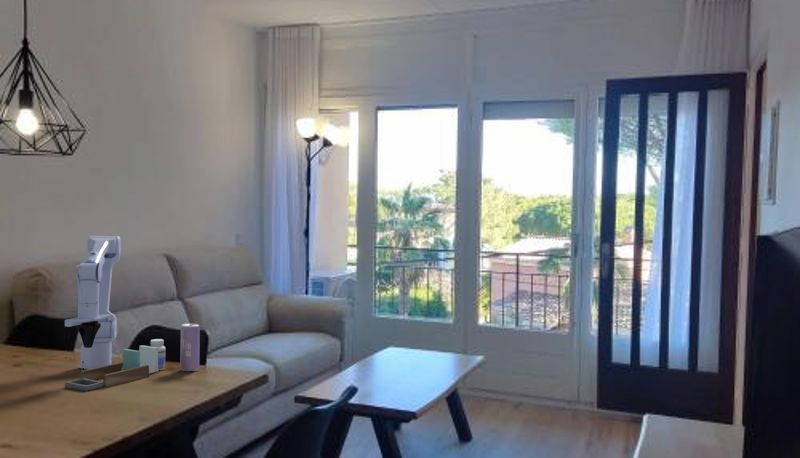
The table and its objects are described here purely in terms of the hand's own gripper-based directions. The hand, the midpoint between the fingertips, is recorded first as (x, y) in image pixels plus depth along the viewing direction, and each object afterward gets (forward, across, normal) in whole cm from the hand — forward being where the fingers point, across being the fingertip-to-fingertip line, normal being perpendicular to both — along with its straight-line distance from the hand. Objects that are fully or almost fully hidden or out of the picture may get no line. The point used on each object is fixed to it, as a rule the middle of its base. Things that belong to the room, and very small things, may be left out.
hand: (88, 347), depth 200 cm
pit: (+10, -5, -5) cm, 13 cm away
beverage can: (+11, +27, -15) cm, 33 cm away
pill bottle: (+11, +22, -5) cm, 25 cm away
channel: (+10, +6, -5) cm, 13 cm away
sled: (+10, +15, -5) cm, 19 cm away
